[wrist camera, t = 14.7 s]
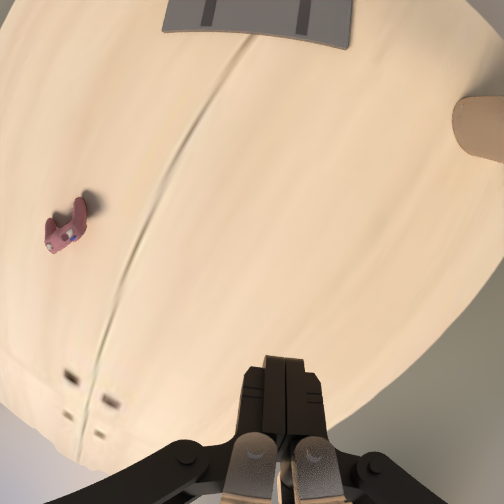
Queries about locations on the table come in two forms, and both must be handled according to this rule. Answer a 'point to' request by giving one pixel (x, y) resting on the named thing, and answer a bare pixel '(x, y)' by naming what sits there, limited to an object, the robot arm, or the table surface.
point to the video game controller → (66, 228)
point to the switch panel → (264, 18)
